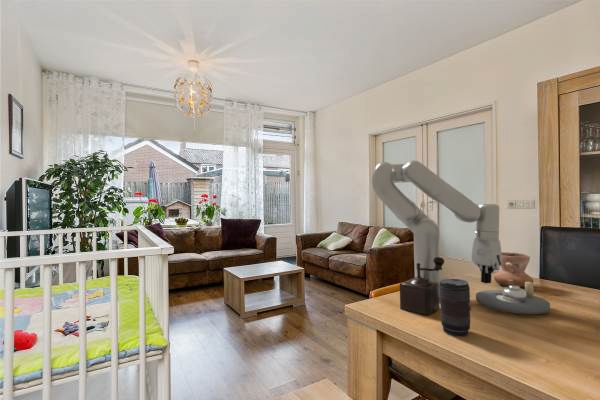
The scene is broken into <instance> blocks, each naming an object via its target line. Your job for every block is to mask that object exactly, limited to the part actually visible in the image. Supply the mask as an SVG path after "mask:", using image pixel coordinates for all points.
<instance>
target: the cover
mask: <svg viewBox="0 0 600 400" xmlns="http://www.w3.org/2000/svg"><path fill="white" fill-rule="evenodd" d="M502 290H503V299H505V300H507V301H511V302H520V303H522V302H526V301H527V299H526V290H525V288H520V287H519V286H516V285H509V287H506V286H503V287H502Z"/></svg>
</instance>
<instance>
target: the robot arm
mask: <svg viewBox="0 0 600 400" xmlns="http://www.w3.org/2000/svg"><path fill="white" fill-rule="evenodd" d="M397 183H399V184H403V183H411V184H412V185H413V186H415V187H416V188H418V189H419V190H420V191H422V192H423V193H424V194H425V195H426V196H428V197H429V198H430V199H431V200H434V201H436V202H438V203H439V204H441V205H443V206H444V207H446V209H448V210H449V211H451V212H452V213H453V214H454V216H455V218H456V219H457V220H459V221H461V222H465V223H469V224H470V223H471V224H472V223H474V222H475V223H476V226H475V227H476V229H475V230H476V231H475V232H474V233H475V235H476V236H475V237H474V239H473V242H472V247H471V261H472V262H473V264H474V265H475V266H477V267H478V268H479V272H481V273H480V282H481V283H483V284H491V283H492V274H493V273H494V272H495V271H501V269H500V268H501V266H500V265H501V260H502V255H501V252H502V247H501V246H502V245H501V241H500V240H499V239H500V236H499V235H500V205H498V204H496V203H475V202H474V201H472V200H471V199H469V197H467V196H466V195H464V194H463V193H462V192H461V191H459V190H458V189H456V188H455V187H453V185H451V184H449V183H448V182H447V181H445V180H444V179H442V178H441V177H440V176H438V174H436V173H435V172H433V170H431V169H429V168H428V167H427V166H426V165H424V163H422V162H420V161H419V160H409V161H407V163H406V162H405V163H395V164H394V163H390V162H388V161H383V162H380V163H378V164H376V166H375V167H374V169H373V172H372V175H371V184H372V189H373V190H374V191H373V192H374V193H375V194H376V196H377V198H379V199H380V201H382V203H383V204H384V205H385V206H386V207H387V208H388V210H390V211H391V212H392V213H393V214H394V215H395V217H396V218H397V219H398V220H399V221H400V222H401V223H402V224H403V225H405V226H406V228H407V229H409V230H410V231H411V233H413V261H414V262H413V263H414V267H413V268H414V269H413V270H414V278H416V277H417V269H416V267H417V265H416V264H417V263H420V268H428V269H434V267H435V263H434V262H433V260H434V258H436V257H440V229H439V225H438V224H437V222H436V221H434V220H433V219H432V218H430V217H429V216H428V215H427V214H426V213H425V212H424V211H423V210H422V209H420V207H419V206H417V203H415V202H414V201H412V200H411V199H410V198H408V197H407V195H405V194H404V192H403V191H401V190H400V189H399V187H397V185H396V184H397ZM440 273H441V270H439V271H426V270H420V276H421V277H422V278H425V279H429V281H432V282H437V283H439V285H440V280H441V277H440ZM439 301H440V293H439Z"/></svg>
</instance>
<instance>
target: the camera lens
mask: <svg viewBox="0 0 600 400" xmlns="http://www.w3.org/2000/svg"><path fill="white" fill-rule="evenodd" d="M470 289H471V288H470V285H469V281H467V280H464V279H459V278H443V279H442V278H441V279H440V285H439V293H440V300H439V304H440V321H441V326H442V330H443V332H444V334H445V333H446V334H447V335H450V336H453V337H459V338H460V337H461V338H462V337H467V336H468V335H469V330H470V329H471V309H472V308H471V304H470V301H471V293H470V291H471V290H470Z"/></svg>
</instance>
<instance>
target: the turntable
mask: <svg viewBox="0 0 600 400" xmlns="http://www.w3.org/2000/svg"><path fill="white" fill-rule="evenodd" d="M524 290H526V299H527V301H526V302H522V303H520V302H511V301H507V300H505V299H503V290H501V289H489V290H487V289H486V290H481V291H477V292H476V293H475V300H476V302H477V303H479V304H480V305H481V306H482V305H483V306H484V307H488V308H490V309H494V310H497V311H502V312H507V313H514V314H523V315H524V314H525V315H538V314H539V315H540V314H546V313H548V312H550V311H551V303H550V302H549V301H548V300H546V299H545V298H542V297H539V296H536V295H535V294H534V282H533V283H532V282H525V288H524Z"/></svg>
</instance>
